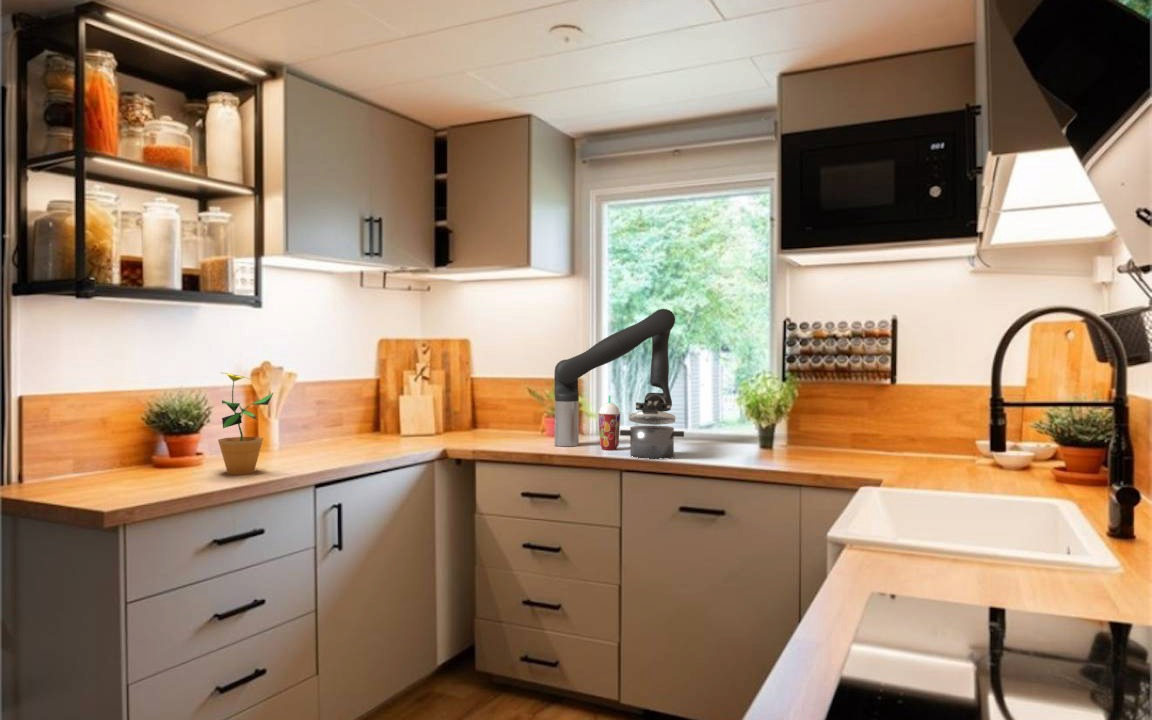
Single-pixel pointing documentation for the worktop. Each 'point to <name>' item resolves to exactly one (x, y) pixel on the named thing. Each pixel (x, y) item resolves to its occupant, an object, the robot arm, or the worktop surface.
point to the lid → (652, 417)
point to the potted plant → (240, 439)
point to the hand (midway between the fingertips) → (651, 408)
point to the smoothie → (609, 426)
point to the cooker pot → (652, 441)
